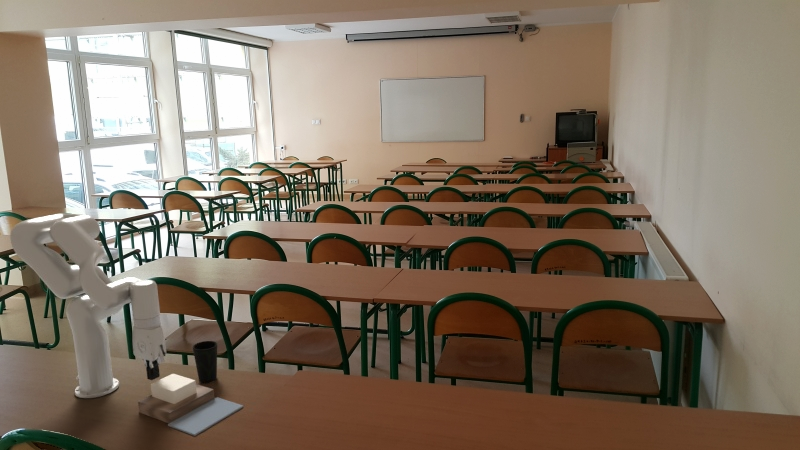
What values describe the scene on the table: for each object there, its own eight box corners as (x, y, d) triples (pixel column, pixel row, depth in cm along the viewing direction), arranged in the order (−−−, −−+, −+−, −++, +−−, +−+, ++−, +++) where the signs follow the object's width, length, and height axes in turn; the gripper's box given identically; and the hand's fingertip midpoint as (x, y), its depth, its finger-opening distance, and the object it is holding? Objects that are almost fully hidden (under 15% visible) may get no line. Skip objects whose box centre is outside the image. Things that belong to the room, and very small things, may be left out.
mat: (167, 425, 163) (167, 424, 163) (217, 398, 178) (217, 397, 178) (194, 436, 157) (194, 434, 157) (243, 407, 172) (243, 405, 172)
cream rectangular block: (151, 396, 173) (150, 383, 172) (174, 385, 179) (173, 373, 179) (174, 404, 168) (173, 391, 167) (196, 392, 175) (195, 380, 174)
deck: (139, 412, 170) (137, 401, 170) (183, 389, 184) (182, 379, 183) (170, 424, 164) (169, 412, 163) (214, 400, 177) (213, 389, 176)
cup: (212, 385, 187) (209, 350, 184) (191, 383, 188) (187, 349, 186) (224, 375, 194) (221, 341, 192) (203, 373, 196) (200, 340, 193)
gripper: (120, 321, 175) (127, 378, 178) (152, 329, 167) (159, 388, 171) (142, 313, 181) (148, 368, 184) (174, 321, 174) (180, 378, 177)
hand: (153, 377), depth 178 cm, fingers closed
